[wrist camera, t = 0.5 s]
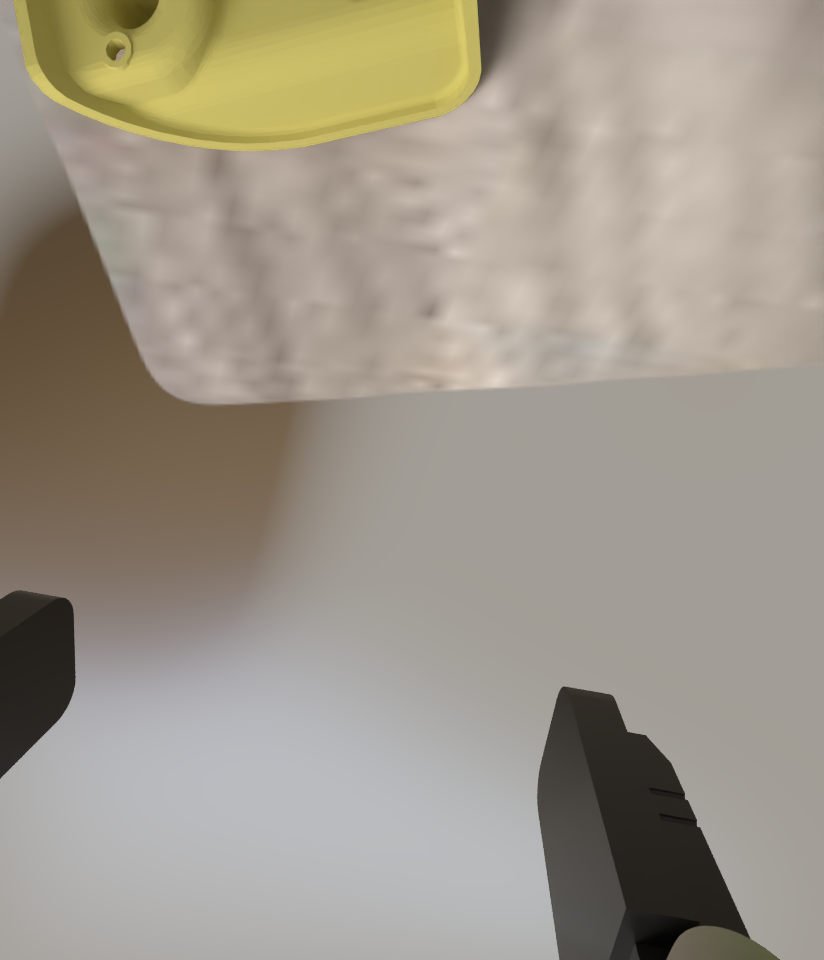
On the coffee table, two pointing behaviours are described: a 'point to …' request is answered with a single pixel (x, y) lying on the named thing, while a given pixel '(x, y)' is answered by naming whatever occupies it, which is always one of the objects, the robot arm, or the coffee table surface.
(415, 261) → the coffee table surface
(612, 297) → the coffee table surface
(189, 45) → the plastic component
